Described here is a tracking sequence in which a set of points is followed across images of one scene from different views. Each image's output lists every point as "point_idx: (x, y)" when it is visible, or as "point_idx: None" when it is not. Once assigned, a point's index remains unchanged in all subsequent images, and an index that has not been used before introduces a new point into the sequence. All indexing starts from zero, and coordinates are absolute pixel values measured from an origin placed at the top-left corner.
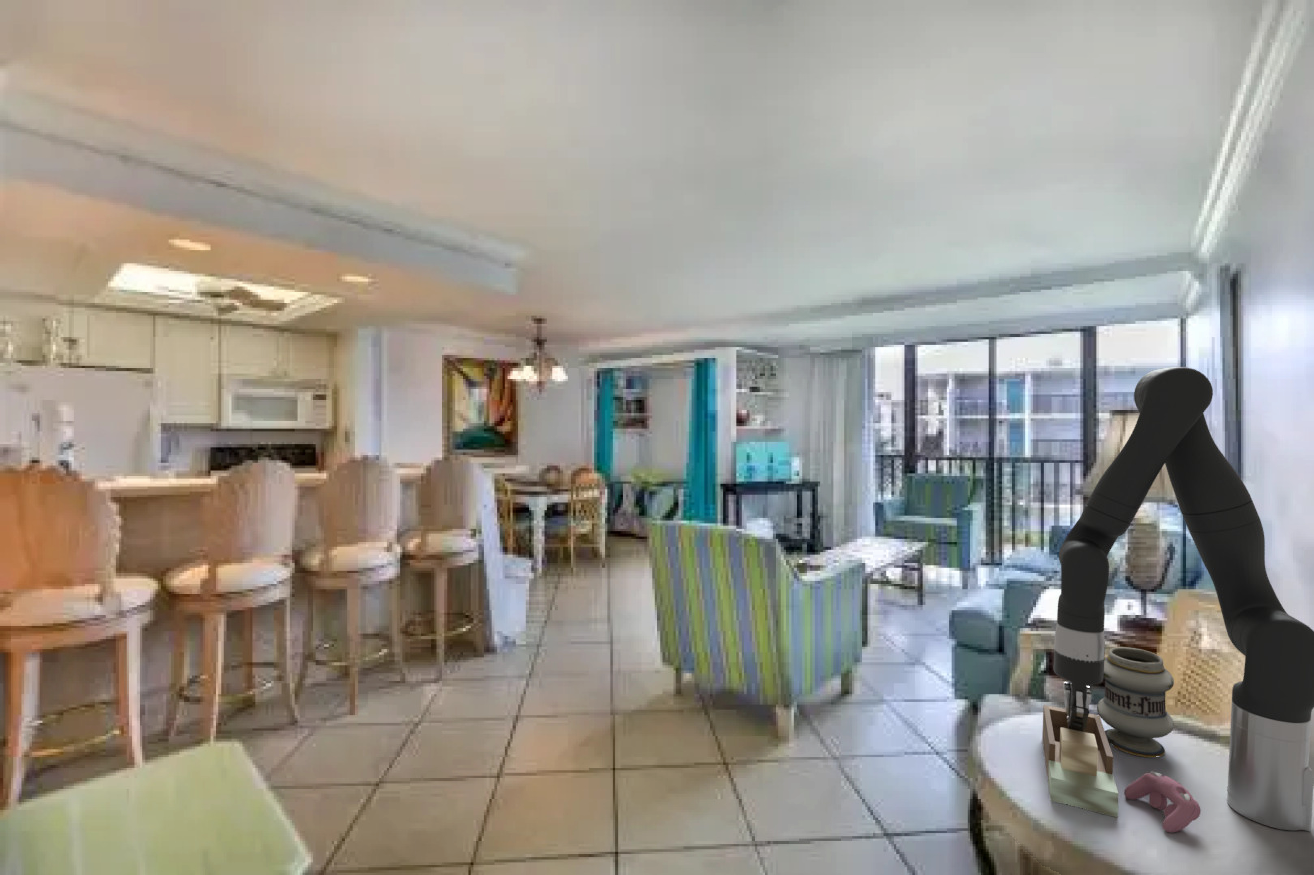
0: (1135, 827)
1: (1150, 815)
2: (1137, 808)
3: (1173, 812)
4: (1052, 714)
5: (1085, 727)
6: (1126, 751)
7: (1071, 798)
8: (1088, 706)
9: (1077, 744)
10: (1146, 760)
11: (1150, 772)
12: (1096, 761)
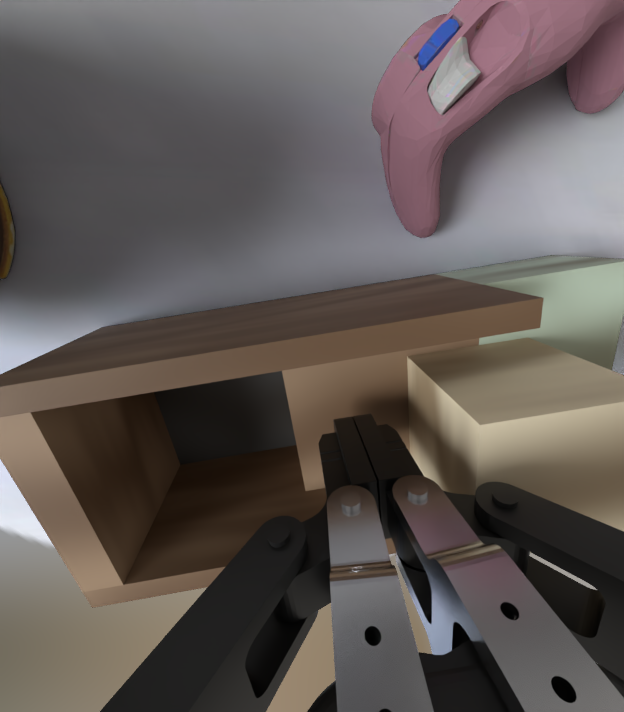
0: (587, 204)
1: (492, 154)
2: (464, 196)
3: None
4: (129, 549)
5: (541, 499)
6: (9, 230)
7: None
8: (606, 681)
9: None
10: (16, 149)
11: (447, 108)
12: (583, 362)
